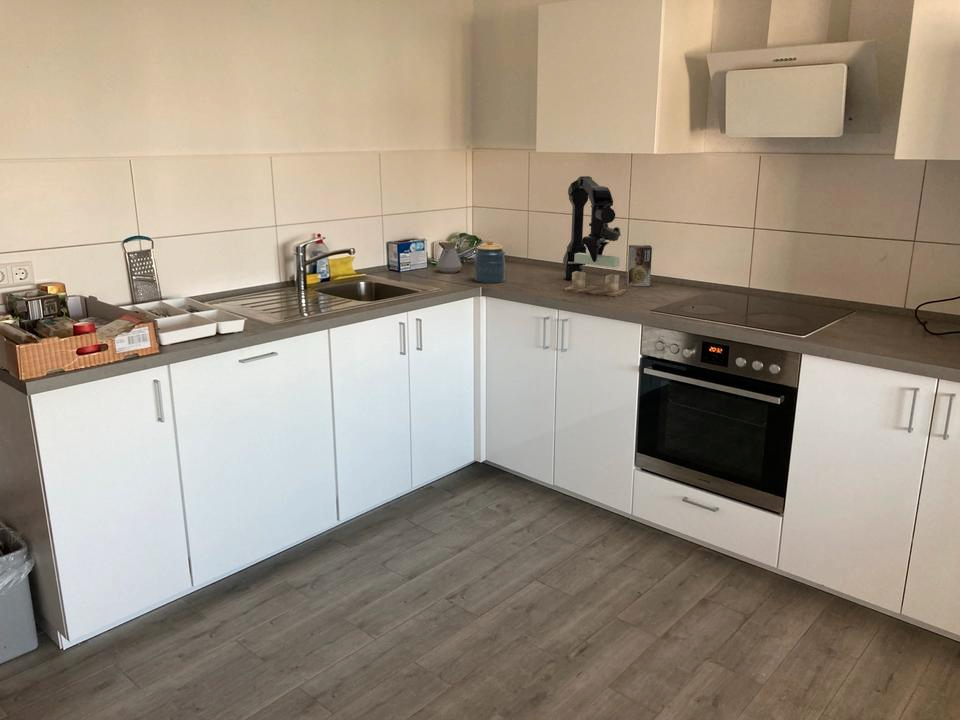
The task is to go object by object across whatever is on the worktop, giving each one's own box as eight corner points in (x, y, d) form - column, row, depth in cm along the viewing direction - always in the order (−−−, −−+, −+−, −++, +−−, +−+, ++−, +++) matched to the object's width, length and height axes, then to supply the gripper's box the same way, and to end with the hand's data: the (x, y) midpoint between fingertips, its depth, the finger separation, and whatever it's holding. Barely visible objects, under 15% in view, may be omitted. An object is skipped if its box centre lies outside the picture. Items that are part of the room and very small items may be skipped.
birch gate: (563, 290, 304) (564, 273, 302) (574, 286, 313) (575, 269, 311) (616, 296, 293) (617, 278, 291) (626, 292, 302) (627, 274, 300)
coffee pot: (440, 269, 352) (440, 236, 348) (464, 270, 349) (464, 237, 345) (426, 277, 332) (425, 242, 328) (451, 278, 329) (451, 243, 325)
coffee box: (648, 283, 320) (651, 245, 315) (650, 286, 314) (652, 247, 309) (626, 283, 321) (628, 244, 316) (627, 286, 315) (629, 246, 310)
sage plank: (574, 262, 304) (574, 253, 303) (579, 261, 307) (579, 252, 306) (614, 267, 293) (614, 258, 292) (619, 266, 296) (620, 257, 295)
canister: (503, 277, 331) (504, 236, 326) (506, 283, 319) (506, 240, 314) (473, 278, 331) (474, 236, 326) (474, 283, 318) (474, 240, 313)
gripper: (609, 223, 284) (607, 265, 288) (626, 219, 299) (624, 259, 304) (581, 222, 289) (580, 263, 293) (599, 218, 305) (597, 257, 309)
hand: (596, 260), depth 300 cm, fingers closed on sage plank, 4 cm apart
